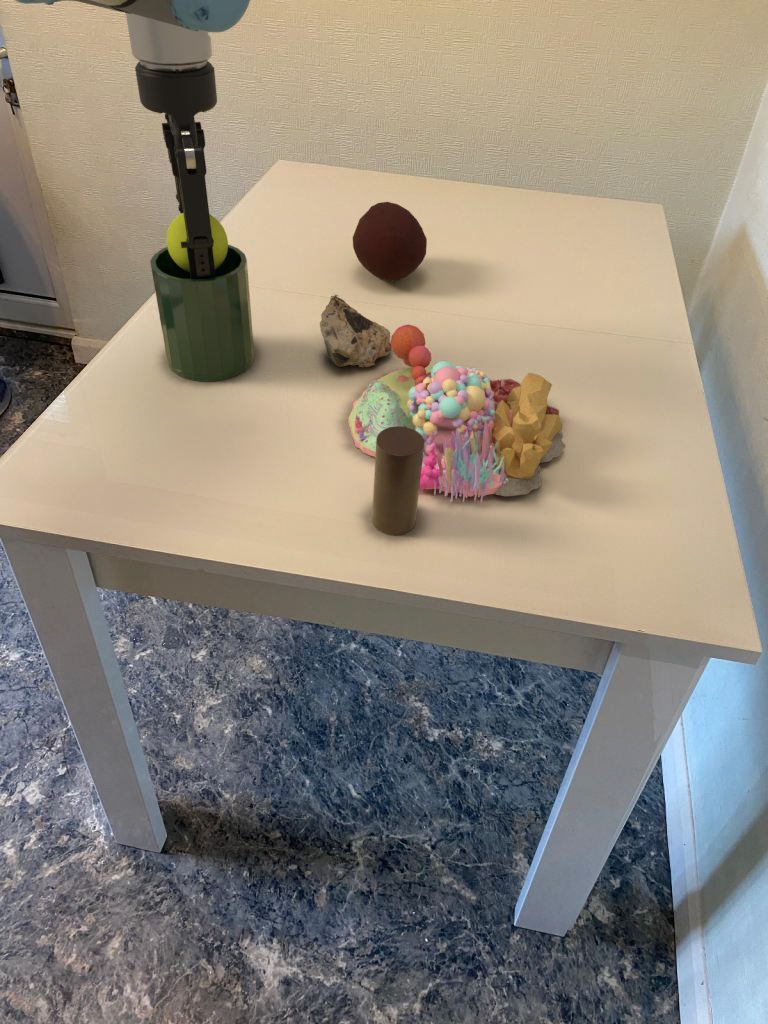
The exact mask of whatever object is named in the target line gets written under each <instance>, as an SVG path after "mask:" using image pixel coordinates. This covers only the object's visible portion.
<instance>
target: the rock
mask: <svg viewBox="0 0 768 1024" xmlns="http://www.w3.org/2000/svg"><path fill="white" fill-rule="evenodd" d="M320 315H321V320H320V322H319V328H320V333H321V336H322V339H323V343H324V346H325V349H326V352H327V355H328V358H329V359H330V361H331V362H332V363H334V364H335V366H337V367H339V368H342V367H345V366H349V365H350V366H357V365H358V367H359V368H370V367H372V366H375V365H376V364H375V362H376V360H378V358H383V357H387V356H388V355H389V353H390V352H392V348H391V332H390V330H389V329H388V328H386V327H385V326H383V325H381V324H379V323H377V322H376V321H373V320H371V319H369V318H367V317H365V316H364V315H362V314H361V313H359V312H358V311H357V310H356V309H355V308H354V307H352V306H350V305H349V304H348V303H347V302H346V301H345V300H343V298H340V297H339V295H338V294H335V295H331V296H330V299H329V301H328V304H326V305H325V309H324V310H323V311H322V312H321V314H320Z"/></svg>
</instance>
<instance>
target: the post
mask: <svg viewBox="0 0 768 1024" xmlns="http://www.w3.org/2000/svg"><path fill="white" fill-rule="evenodd" d="M423 452H424V439H423V437H422V435H421V434H420V433H419V432H417V431H415V430H413V429H411V428H407V427H400V426H396V427H390V428H387V429H384V430H383V431H381V432H380V433H379V434H378V436H377V439H376V456H375V457H374V473H373V475H374V476H373V492H372V493H373V494H372V508H371V509H372V512H371V521H372V524H373V526H374V527H375V528H376V530H378V531H379V532H381V533H383V534H386V535H391V536H401V535H404V534H407V533H409V532H410V531H412V530H413V529H414V527H415V526H416V522H417V513H418V505H419V497H420V489H419V488H420V479H421V470H422V461H423Z"/></svg>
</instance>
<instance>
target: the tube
mask: <svg viewBox="0 0 768 1024" xmlns="http://www.w3.org/2000/svg"><path fill="white" fill-rule="evenodd" d="M149 262H150V269H151V274H152V280H153V286H154V292H155V297H156V303H157V309H158V315H159V321H160V326H161V333H162V338H163V343H164V349H165V355H166V361H167V365H168V367H169V369H170V370H171V371H172V372H173V373H174V374H175V375H177V376H179V377H182V378H183V379H187V380H190V381H196V382H219V381H224V380H229V379H232V378H234V377H237V376H239V375H241V374H243V373H245V372H246V371H247V370H248V369H249V368H250V367H251V366H252V364H253V363H254V359H255V347H254V334H253V333H254V331H253V322H252V320H253V319H252V308H251V295H250V285H249V284H250V283H249V281H250V280H249V269H248V268H249V267H248V259H247V256H246V254H245V252H243V251H242V250H241V249H240V248H238V247H235V246H233V245H232V244H229V243H228V250H227V255H226V257H225V259H224V261H223V263H222V264H221V265H220V266H219V267H218V268H217V269H215V275H216V277H215V278H210V279H191V275H190V272H189V273H188V271H186V270H184V269H182V268H181V267H179V266H178V265H177V264H176V263H175V262H174V260H173V259H172V257H171V256H170V254H169V251H168V248H167V246H166V247H163V248H161V249H160V250H158V251H157V252H156V253H154V254H153V255H152V257H151V259H150V261H149Z"/></svg>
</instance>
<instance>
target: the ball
mask: <svg viewBox="0 0 768 1024" xmlns="http://www.w3.org/2000/svg"><path fill="white" fill-rule="evenodd" d="M209 215H210V223H211V232H212V238H213V239H214V243H213V244H214V246H213V247H212V248H213V257H214V266H215V269H217V268H218V267H219V266H220V265H221V264H222V263H223V261H224V259H225V257H226V255H227V250H228V244H229V241H228V235H227V232H226V231H225V228H224V227H223V224H222V223H220V220H218V218H216V217H215V216H213V215H212V214H210V213H209ZM165 239H166V241H165V242H166V247H167V248H168V251H169V254H170V256H171V257H172V259H173V260H174V262H175V263H176V264H177V265H178V266H179V267H181V268H182V269H184V270H186V271H188V272H190V268H189V261H188V253H187V248H181V242H185V241H186V239H187V234H186V227H185V220H184V214H183V213H182V214H180V213H179V214H178V215H177V216H176V217H174V219H173V220H172V221H171V223H170V224H169V226H168V228H167V231H166V238H165Z"/></svg>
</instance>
